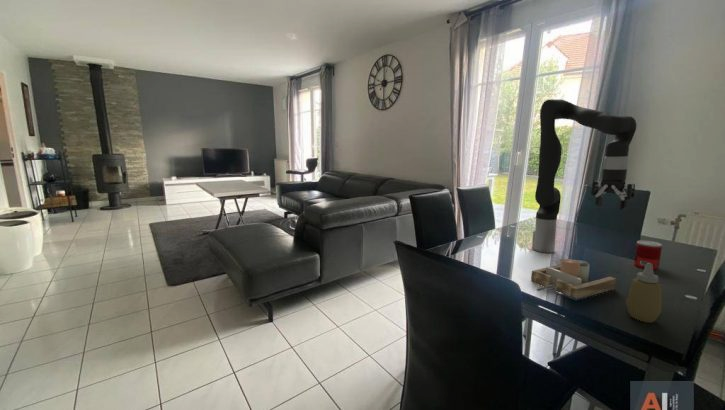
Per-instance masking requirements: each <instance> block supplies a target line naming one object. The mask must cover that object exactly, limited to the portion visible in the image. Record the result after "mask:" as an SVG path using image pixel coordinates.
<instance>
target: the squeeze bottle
mask: <svg viewBox="0 0 725 410" xmlns="http://www.w3.org/2000/svg"><path fill="white" fill-rule="evenodd" d="M642 270H643V271H640V272H637V273H636V274H637V275H636V278H633V279H632V280H631V285H630V289H629V292H628V295H627V299H626V301H625V305H626V308H627V312H628V314H630V315H629V316H630V317H631V316H632V317H633V318H632V317H631V318H632V319H634V318H635V319H634V320H636V319H637V320H636V321H639V320H640V322H642V321H643V322H642V323H655V322H656V320H657V319H658V317H659V316H660V314H661V313H662V291H663V290H662V285H661V283H659V276H658V275H657V274H654V270H653V266H652V264H651V263H647V264H646V266H645V268H644V269H642Z"/></svg>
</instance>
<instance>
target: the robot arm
mask: <svg viewBox="0 0 725 410" xmlns="http://www.w3.org/2000/svg"><path fill="white" fill-rule="evenodd" d="M539 120H540V123H539V124H540V143H539V152H538V153H539V154H538V172H537V173H538V174H537V176H538V178H537V184H536V190H535V195H534V197H535V201H536V203H537V204H538V205H539V207H538V210H537V211H536V214H535V225H534V226H535V227H534V228H535V229H534V230H533V231H532V245H531V249H532V250H534V251H536V252H540V253H545V254H546V253H547V254H551V253H554V252H555V248H556V235H557V223H558V215H559V213H560V208H561V198H562V197H561V192H560V190H559V189H558V187H555V178H556V175H557V172H558V170H559V167H560V164H561V160H562V150H563V149H562V147H563V146H562V144H561V141H560V138H559V136H558V135H557V132H556V120H570V121H575V122H577V123H578V124H579V125H582V126H583V127H586V128H591V129H594V130H597V131H598V132H601V133H603V134H605V135H609V136H614V137H613V140H612V141H610V142H608V143H607V144H606V146H605V150H604V151H605V152H604V159H603V163H602V173H601V181H600V180H595V181H593V182H592V187H591V192H590V194H591V196H594V197H595V205H596V207H601V206H602V205H603V204H602V203H603V199H604V198H603V196H604V195H605V194H609V193H611V194H616V195H617V196H618V197H619V199H620V202H619V210H622V211H623V210H625V209H626V208H627V207H628V201H629V200H633V199H635V194H636V193H635V189H636V185H635V183H626V179H627V175H628V164H629V149H630V145H631V143H632V141H633V139H634V138H633V137H634V135H635V133H636V131H637V122H636V119H635V118H634V117H632V116H629V115H624V116H623V115H622V116H618V115H610V114H609V113H608V112H605V111H601V110H596V109H592V108H587V107H582V106H579V105H576V104H574V103H572V102H571V101H567V100H565V99H561V98H559V99H557V98H556V99H551V98H550V99H546V100H544V101H543V103H542V104H541V107H540V111H539ZM600 187H601V188H600ZM625 189H626V191H625Z"/></svg>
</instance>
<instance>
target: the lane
mask: <svg viewBox="0 0 725 410" xmlns="http://www.w3.org/2000/svg"><path fill="white" fill-rule="evenodd" d="M549 267H551V268H554V269H557V270H559V271H560V270H561V263H559V264H555V265H552V266H551V265H550V266H549ZM530 278H531V279H530V281H531V282H532V283H534V284H537V285H538V284H539V286H541V285H542V286H541V287H543V286H544V287H545V286H549V285H551V283H550V282H551V276H549V275H547V274H546V267H542V268H538V269H533V270H531V277H530ZM616 282H617V279H616V277H612V276H607V277H603V278H599V279H597V280H592V281H588V283H584V284H581V285H577V286H573V285H571V284H569V283H567V282H564V281H562V280H559V279H558V280H557V281H556V287H555V292H556V291H558V292H561V293H563V294H566V295H568V296H571V297H574V298H576V299H577V298H583V297H587V296H590V295H594V294H597V293H601V292H603V291H608V290H611V289H615V288H616Z"/></svg>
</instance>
